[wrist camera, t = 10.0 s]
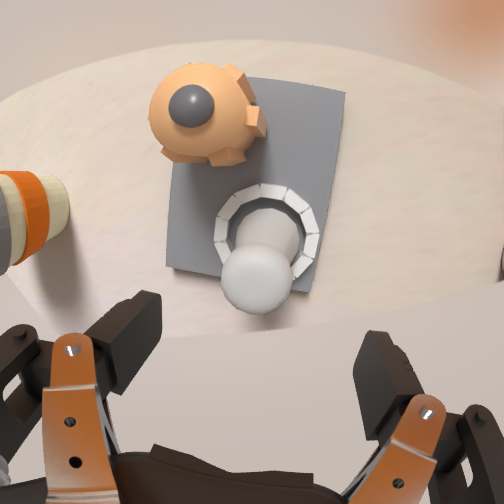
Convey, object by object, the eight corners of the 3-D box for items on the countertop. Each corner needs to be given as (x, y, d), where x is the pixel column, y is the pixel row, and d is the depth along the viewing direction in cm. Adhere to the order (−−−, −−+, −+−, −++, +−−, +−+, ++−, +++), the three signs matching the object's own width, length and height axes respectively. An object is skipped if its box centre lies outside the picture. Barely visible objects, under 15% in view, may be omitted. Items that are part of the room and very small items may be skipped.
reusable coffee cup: (23, 226, 34) (-45, 253, 20) (35, 152, 30) (-43, 162, 16) (70, 260, 35) (-3, 304, 20) (87, 179, 31) (-4, 197, 16)
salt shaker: (310, 236, 28) (327, 293, 15) (267, 272, 29) (253, 347, 17) (270, 192, 27) (256, 215, 14) (228, 230, 28) (185, 281, 16)
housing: (341, 96, 25) (378, 53, 13) (308, 284, 31) (318, 355, 19) (192, 79, 26) (137, 36, 14) (172, 260, 32) (115, 312, 20)
